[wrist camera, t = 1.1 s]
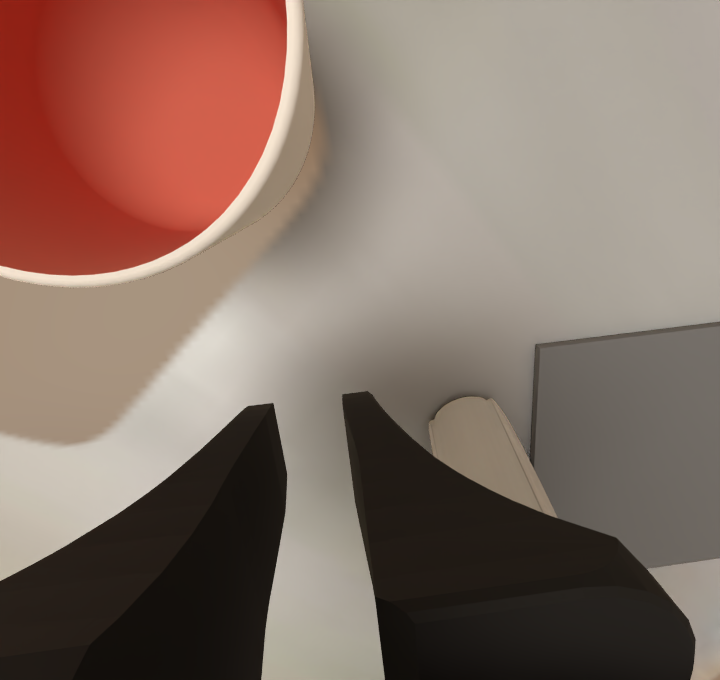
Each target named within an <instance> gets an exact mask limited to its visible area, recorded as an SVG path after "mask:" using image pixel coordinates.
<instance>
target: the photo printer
mask: <svg viewBox="0 0 720 680" xmlns="http://www.w3.org/2000/svg"><path fill="white" fill-rule="evenodd" d="M429 435H430V441H431V446H432V452H433V456H434V457H436V458H437V459H439V460H440V461H442V462H443V463H445V464H446V465H448V466H449V467H451V468H452V469H454V470H455V471H457V472H459V473H460V474H462V475H464V476H465V477H467V478H469V479H471V480H473V481H475V482H477V483H478V484H480V485H482V486H484V487H486V488H488V489H490V490H492V491H494V492H496V493H498V494H500V495H502V496H504V497H507V498H509V499H511V500H513V501H515V502H518V503H520V504H523V505H525V506H528V507H530V508H532V509H535V510H537V511H540V512H542V513H545V514H547V515H550V516H552V517H555V518H557V515H556V513H555V511H554V509H553V507H552V505H551V503H550V501H549V499H548V497H547V495H546V493H545V490H544V488H543V486H542V484H541V482H540V480H539V478H538V476H537V474H536V472H535V470H534V468H533V466H532V464H531V462H530V460H529V458H528V456H527V454H526V452H525V450H524V448H523V446H522V444H521V442H520V441H519V439H518V437H517V435H516V433H515V431H514V429H513V427H512V425H511V424H510V422H509V420H508V419H507V417H506V415H505V414H504V412H503V411H502V410H501V408H500V407H499V406H498V404H497V403H496V402H495V401H494V400H493V399H492V398H491V399H488V400H485V399H484V398H482V397H463V398H459V399H456V400H454V401H451V402H450V403H448V404H446V405H445V406H443V407H442V408H441V409H440V410H439V411H438V412H437V414H436V416H435V419H434V420H431V421H429Z"/></svg>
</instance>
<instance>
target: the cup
mask: <svg viewBox="0 0 720 680" xmlns="http://www.w3.org/2000/svg"><path fill="white" fill-rule="evenodd" d="M314 115H315V98H314V85H313V77H312V69H311V61H310V53H309V45H308V37H307V29H306V21H305V12H304V4H303V0H0V276H1V277H5V278H9V279H13V280H16V281H22V282H27V283H33V284H39V285H45V286H58V287H72V288H77V287H102V286H109V285H117V284H123V283H127V282H132V281H136V280H141V279H145V278H148V277H151V276H153V275H156V274H160V273H163V272H165V271H167V270H170V269H172V268H174V267H176V266H178V265H180V264H182V263H184V262H186V261H188V260H190V259H191V258H193V257H195V256H197V255H198V254H200V253H202V252H204V251H206V250H207V249H209V248H211V247H212V246H214V245H216V244H218V243H220V242H222V241H223V240H225V239H227V238H228V237H230V236H232V235H234V234H236V233H237V232H239V231H241V230H243V229H244V228H246V227H248V226H249V225H251V224H253V223H255V222H257V221H258V220H260V219H261V218H262V217H264V216H265V215H266V214H268V213H269V212H270V211H271V210H272V209H273V208H274V207H275V206H276V205H277V204H278V203H279V202H280V201H281V200H282V199H283V198H284V197H285V195H286V194H287V193H288V191H289V190H290V189H291V187H292V185H293V184H294V182H295V181H296V179H297V177H298V175H299V173H300V171H301V169H302V167H303V164H304V162H305V159H306V156H307V153H308V150H309V147H310V143H311V138H312V133H313V126H314Z"/></svg>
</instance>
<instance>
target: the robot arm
mask: <svg viewBox="0 0 720 680" xmlns="http://www.w3.org/2000/svg"><path fill="white" fill-rule="evenodd" d="M342 401H343V412H344V419H345V427H346V435H347V442H348V450H349V458H350V465H351V473H352V481H353V488H354V496H355V503H356V508H357V513H358V518H359V523H360V527H361V532H362V537H363V542H364V547H365V551H366V556H367V561H368V566H369V571H370V575H371V580H372V585H373V590H374V596H375V602H376V609H377V617H378V625H379V634H380V642H381V650H382V658H383V666H384V675H385V680H690V678H691V675H692V671H693V665H694V654H695V641H696V639H695V637H694V634H693V631H692V628H691V625H690V623H689V620H688V619H687V617H686V616H685V615H684V614H683V613H682V611H681V610H680V609H679V608H678V606H677V605H676V604H675V603H674V602H673V600H672V599H671V598H670V597H669V596H668V594H667V593H666V592H665V591H664V589H663V588H662V587H661V586H660V584H659V583H658V582H657V581H656V580H655V578H654V577H653V576H652V575H651V574H650V573H649V571H648V570H647V569H646V568H645V567H644V566H643V565H642V564H641V563H640V562H639V561H638V560H637V558H636V557H635V556H634V555H633V554H632V553H631V552H630V551H629V550H628V549H627V548H626V547H625V546H624V545H623V544H622V543H621V542H620V541H619V540H618V539H617V538H616V537H613V536H610V535H607V534H604V533H601V532H598V531H595V530H592V529H589V528H586V527H583V526H580V525H577V524H574V523H571V522H568V521H565V520H562V519H559V518H555V517H552V516H550V515H547V514H545V513H542V512H540V511H537V510H535V509H532V508H530V507H528V506H525V505H523V504H520V503H518V502H515V501H513V500H511V499H509V498H507V497H504V496H502V495H500V494H498V493H496V492H494V491H492V490H490V489H488V488H486V487H484V486H482V485H480V484H478V483H477V482H475V481H473V480H471V479H469V478H467V477H465V476H464V475H462V474H460V473H459V472H457V471H455V470H454V469H452V468H451V467H449V466H448V465H446V464H445V463H443V462H442V461H440V460H439V459H437V458H436V457H434V456H433V455H432V454H430V453H429V452H428V451H426V450H425V449H424V448H423V447H422V446H420V445H419V444H418V443H417V442H416V441H414V440H413V439H412V438H411V437H410V436H409V435H408V434H407V433H406V432H405V431H404V430H403V429H402V428H401V427H400V426H399V425H397V424H396V423H395V422H394V421H393V420H392V418H391V417H390V416H389V415H388V414H387V413H386V412H385V411H384V410H383V408H382V407H381V406H380V405H379V404H378V402H377V401H376V400H375V398H374V397H373V395H372V394H371V393H369V392H368V391H366V392H358V393H350V394H342ZM286 490H287V471H286V466H285V460H284V455H283V450H282V445H281V440H280V435H279V430H278V425H277V419H276V414H275V409H274V404H273V403H270V404H262V405H254V406H248V407H246V408H245V409H244V410H243V411H241V412H240V413H239V414H238V415H237V416H236V417H235V418H234V419H233V420H232V421H231V422H230V423H229V424H228V425H227V426H226V427H225V428H223V429H222V430H221V431H220V432H219V433H218V434H217V435H216V436H215V437H214V438H213V439H212V440H211V441H210V442H209V443H207V444H206V445H205V446H204V447H203V448H202V449H201V450H200V451H199V452H198V453H196V454H195V455H194V456H193V457H192V458H191V459H189V460H188V461H187V462H186V463H185V464H183V465H182V466H181V467H180V468H179V469H178V470H176V471H175V472H174V473H173V474H172V475H170V476H169V477H168V478H167V479H166V480H164V481H163V482H162V483H160V484H159V485H158V486H157V487H155V488H154V489H153V490H151V491H150V492H149V493H147V494H146V495H144V496H143V497H142V498H140V499H139V500H137V501H136V502H134V503H133V504H132V505H130V506H129V507H127V508H126V509H125V510H123V511H122V512H120V513H118V514H117V515H115V516H114V517H112V518H111V519H109V520H107V521H106V522H104V523H103V524H101V525H99V526H98V527H96V528H94V529H93V530H91V531H89V532H88V533H86V534H85V535H83V536H81V537H80V538H78V539H76V540H75V541H73V542H72V543H70V544H68V545H67V546H65V547H63V548H61V549H60V550H58V551H56V552H54V553H53V554H51V555H49V556H47V557H45V558H43V559H42V560H40V561H38V562H36V563H34V564H32V565H31V566H29V567H27V568H25V569H23V570H21V571H19V572H17V573H15V574H13V575H11V576H9V577H7V578H6V579H4V580H2V581H0V680H261V675H262V663H263V651H264V639H265V628H266V621H267V613H268V606H269V600H270V595H271V589H272V584H273V578H274V573H275V567H276V562H277V556H278V551H279V545H280V540H281V534H282V528H283V523H284V517H285V509H286Z"/></svg>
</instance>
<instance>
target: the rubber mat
mask: <svg viewBox="0 0 720 680" xmlns="http://www.w3.org/2000/svg"><path fill="white" fill-rule="evenodd" d="M530 462H531V464H532V466H533V468H534V470H535V472H536V474H537V476H538V478H539V480H540V482H541V484H542V486H543V488H544V490H545V493H546V495H547V497H548V499H549V501H550V503H551V505H552V507H553V509H554V511H555V513H556V515H557V518H559V519H562V520H565V521H568V522H571V523H574V524H577V525H580V526H583V527H586V528H589V529H592V530H595V531H598V532H601V533H604V534H607V535H610V536H613V537H616V538H617V539H618V540H619V541H620V542H621V543H622V544H623V545H624V546H625V547H626V548H627V549H628V550H629V551H630V552H631V553H632V554H633V555H634V556H635V557H636V558H637V560H638V561H639V562H640V563H641V564H642V565H643V566H644V567H645V568H646V569H647V568H654V567H661V566H668V565H675V564H682V563H689V562H696V561H703V560H710V559H717V558H720V322H716V323H708V324H700V325H692V326H683V327H675V328H667V329H659V330H651V331H643V332H635V333H626V334H618V335H610V336H602V337H594V338H586V339H578V340H570V341H561V342H553V343H545V344H537V345H536V348H535V369H534V390H533V410H532V431H531V452H530Z"/></svg>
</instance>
